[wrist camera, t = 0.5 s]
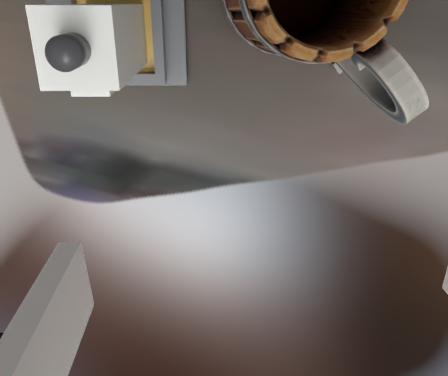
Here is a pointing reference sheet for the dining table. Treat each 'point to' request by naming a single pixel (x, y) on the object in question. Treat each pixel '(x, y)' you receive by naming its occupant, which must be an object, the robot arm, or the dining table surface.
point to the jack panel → (157, 40)
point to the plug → (87, 46)
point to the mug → (336, 44)
